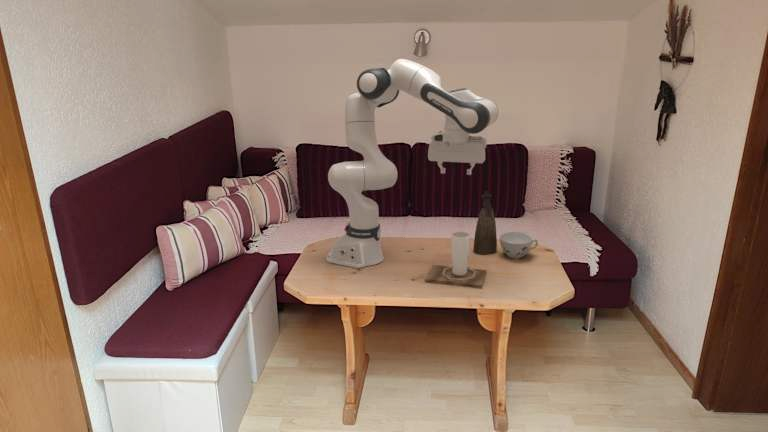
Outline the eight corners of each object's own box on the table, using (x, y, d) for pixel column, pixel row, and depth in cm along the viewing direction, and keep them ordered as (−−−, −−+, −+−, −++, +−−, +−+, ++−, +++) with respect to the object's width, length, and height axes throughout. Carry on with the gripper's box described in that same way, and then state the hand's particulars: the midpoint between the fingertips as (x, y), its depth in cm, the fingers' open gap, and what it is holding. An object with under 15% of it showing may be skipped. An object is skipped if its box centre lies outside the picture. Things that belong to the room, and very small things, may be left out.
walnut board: (424, 282, 192) (424, 276, 191) (432, 267, 204) (432, 262, 203) (481, 288, 186) (482, 283, 186) (486, 273, 198) (486, 268, 197)
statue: (483, 246, 223) (487, 188, 214) (498, 251, 218) (504, 192, 209) (470, 252, 217) (474, 193, 208) (486, 258, 212) (491, 197, 203)
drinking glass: (468, 277, 192) (470, 238, 187) (449, 276, 193) (450, 237, 188) (469, 270, 198) (470, 231, 193) (450, 269, 199) (451, 230, 194)
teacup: (503, 262, 207) (504, 243, 204) (495, 250, 219) (496, 231, 216) (542, 261, 207) (543, 241, 205) (532, 249, 219) (533, 230, 217)
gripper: (487, 135, 191) (486, 173, 196) (430, 133, 197) (430, 170, 201) (485, 138, 185) (484, 177, 190) (426, 136, 191) (426, 174, 196)
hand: (455, 173), depth 196 cm, fingers open, 8 cm apart
